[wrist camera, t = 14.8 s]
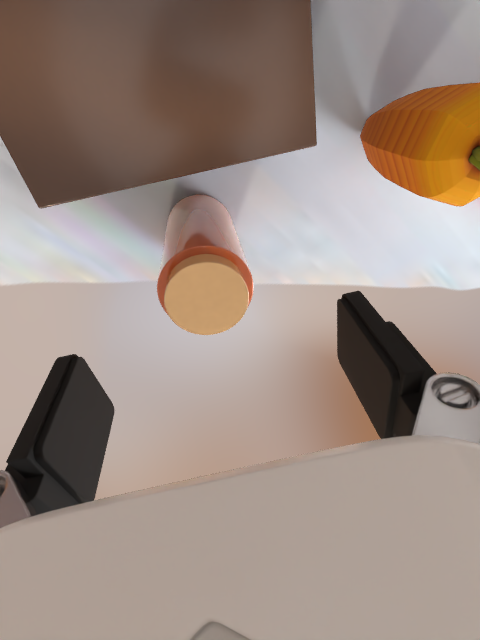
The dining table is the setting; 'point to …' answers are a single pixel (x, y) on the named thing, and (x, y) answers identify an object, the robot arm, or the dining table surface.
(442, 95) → the carrot
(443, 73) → the dining table surface
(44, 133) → the cabinet
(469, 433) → the robot arm
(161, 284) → the spice jar
